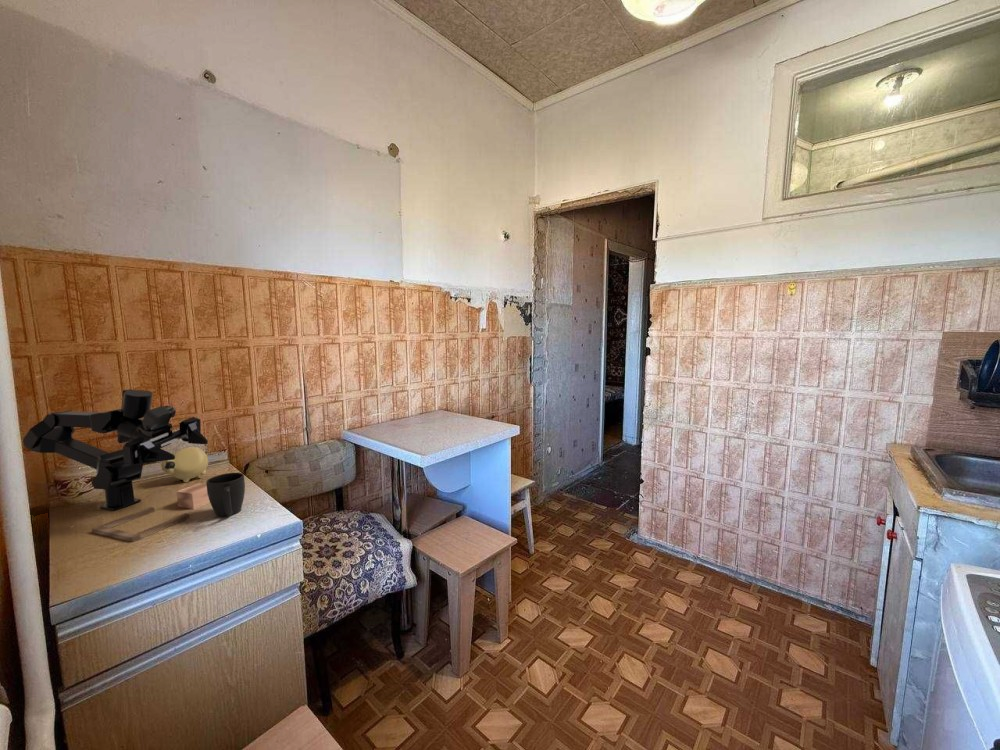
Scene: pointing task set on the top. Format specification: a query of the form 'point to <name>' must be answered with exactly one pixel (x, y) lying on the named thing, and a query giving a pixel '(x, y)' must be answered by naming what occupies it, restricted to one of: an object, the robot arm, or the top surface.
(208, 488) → the mug
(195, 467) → the toy pig
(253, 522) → the top surface
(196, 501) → the terracotta block
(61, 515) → the top surface
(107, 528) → the walnut bay
